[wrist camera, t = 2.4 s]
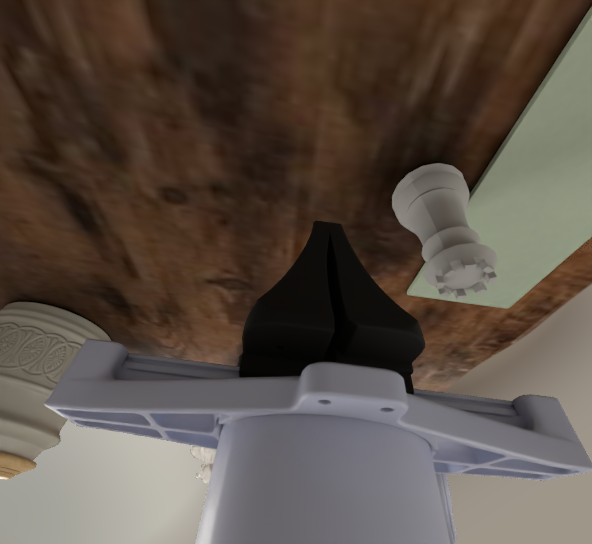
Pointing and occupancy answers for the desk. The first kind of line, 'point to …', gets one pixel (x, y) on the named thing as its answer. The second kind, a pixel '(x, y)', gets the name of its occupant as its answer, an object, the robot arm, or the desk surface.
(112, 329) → the desk surface
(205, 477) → the white tied sack
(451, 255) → the rook chess piece
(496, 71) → the desk surface
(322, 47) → the desk surface
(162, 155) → the desk surface
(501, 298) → the mat
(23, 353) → the jar
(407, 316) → the robot arm
